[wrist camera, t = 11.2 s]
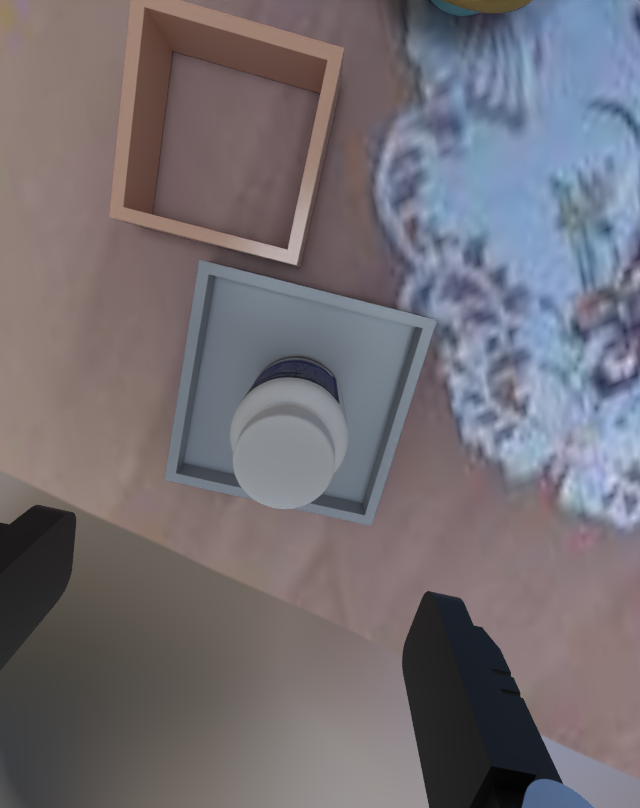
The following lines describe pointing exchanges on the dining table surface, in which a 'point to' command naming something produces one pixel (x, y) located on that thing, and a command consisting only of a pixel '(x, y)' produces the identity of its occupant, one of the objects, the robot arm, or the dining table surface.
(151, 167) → the holder
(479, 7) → the cupcake
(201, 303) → the tray
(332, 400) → the pill bottle
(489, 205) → the dining table surface
